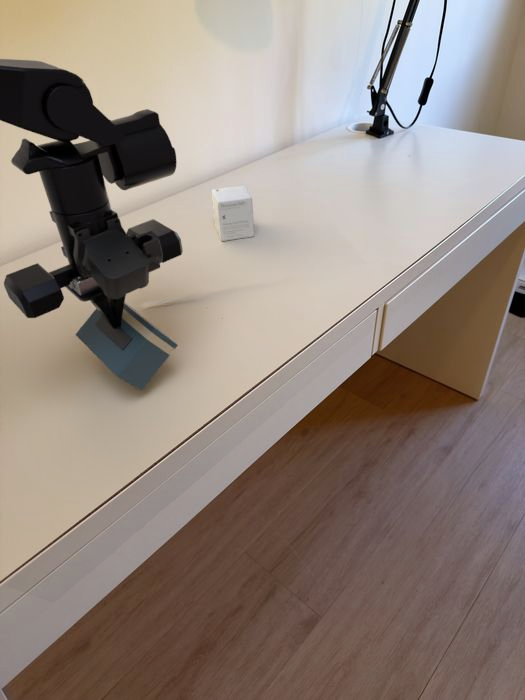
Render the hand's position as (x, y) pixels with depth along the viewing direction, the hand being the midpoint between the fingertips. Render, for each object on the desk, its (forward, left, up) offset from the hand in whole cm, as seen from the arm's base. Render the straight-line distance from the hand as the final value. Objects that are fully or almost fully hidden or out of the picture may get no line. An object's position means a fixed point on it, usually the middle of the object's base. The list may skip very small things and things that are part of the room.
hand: (115, 326), depth 63 cm
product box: (0, +38, -7) cm, 39 cm away
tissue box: (0, +1, -3) cm, 3 cm away
